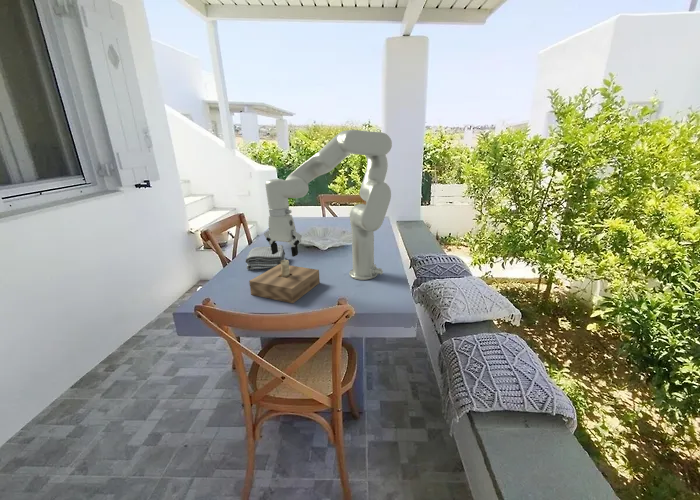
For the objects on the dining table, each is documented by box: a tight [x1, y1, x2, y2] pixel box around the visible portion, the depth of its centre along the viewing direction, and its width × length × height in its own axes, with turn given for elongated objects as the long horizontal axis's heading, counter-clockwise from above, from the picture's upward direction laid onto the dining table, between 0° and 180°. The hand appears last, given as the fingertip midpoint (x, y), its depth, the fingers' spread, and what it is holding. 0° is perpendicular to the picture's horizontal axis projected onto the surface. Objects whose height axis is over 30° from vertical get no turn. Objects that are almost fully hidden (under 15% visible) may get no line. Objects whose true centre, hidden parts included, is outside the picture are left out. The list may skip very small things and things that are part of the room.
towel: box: [245, 244, 286, 271], centre depth 161 cm, size 15×18×8 cm
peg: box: [281, 259, 290, 278], centre depth 131 cm, size 3×3×11 cm
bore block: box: [248, 264, 321, 304], centre depth 132 cm, size 20×20×6 cm
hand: (285, 254), depth 129 cm, fingers open, 9 cm apart
